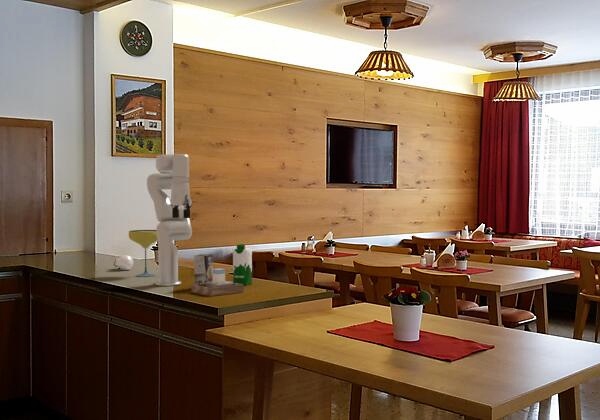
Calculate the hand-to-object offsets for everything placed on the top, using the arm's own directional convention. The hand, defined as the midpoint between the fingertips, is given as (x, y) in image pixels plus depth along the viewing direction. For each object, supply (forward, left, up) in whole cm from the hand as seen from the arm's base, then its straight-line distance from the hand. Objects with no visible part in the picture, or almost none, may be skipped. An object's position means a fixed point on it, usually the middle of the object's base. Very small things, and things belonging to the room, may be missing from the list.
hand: (181, 217), depth 310 cm
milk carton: (0, +35, -34) cm, 49 cm away
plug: (+13, +12, -34) cm, 38 cm away
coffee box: (-3, +14, -34) cm, 37 cm away
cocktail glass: (-66, +17, -34) cm, 76 cm away
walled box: (+13, +11, -34) cm, 38 cm away
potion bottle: (-101, +21, -34) cm, 109 cm away
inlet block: (+13, +12, -34) cm, 39 cm away
